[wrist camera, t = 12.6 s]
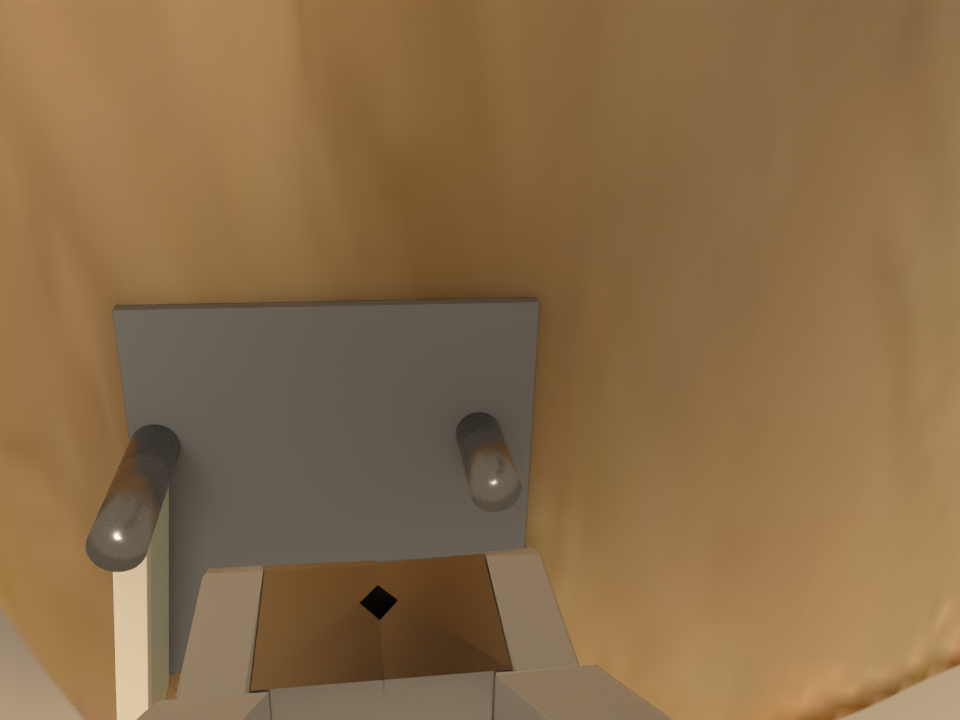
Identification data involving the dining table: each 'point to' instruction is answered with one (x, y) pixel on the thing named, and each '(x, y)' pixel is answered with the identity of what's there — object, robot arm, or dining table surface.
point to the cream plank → (143, 626)
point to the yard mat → (326, 429)
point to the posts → (156, 450)
